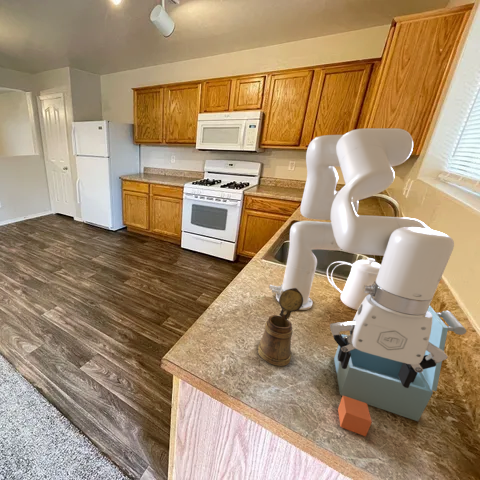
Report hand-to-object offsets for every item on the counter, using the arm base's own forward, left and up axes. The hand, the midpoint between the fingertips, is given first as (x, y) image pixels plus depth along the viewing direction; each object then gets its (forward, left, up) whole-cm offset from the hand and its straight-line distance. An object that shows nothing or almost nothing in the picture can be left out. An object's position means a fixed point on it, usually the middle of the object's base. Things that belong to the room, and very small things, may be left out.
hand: (371, 372), depth 52 cm
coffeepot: (+10, +54, -15) cm, 57 cm away
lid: (+11, +13, +2) cm, 18 cm away
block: (0, 0, -15) cm, 15 cm away
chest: (+6, +13, -15) cm, 21 cm away
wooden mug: (-16, +16, -15) cm, 27 cm away
